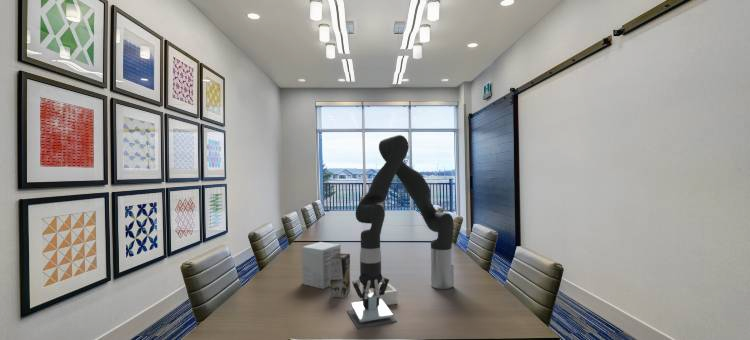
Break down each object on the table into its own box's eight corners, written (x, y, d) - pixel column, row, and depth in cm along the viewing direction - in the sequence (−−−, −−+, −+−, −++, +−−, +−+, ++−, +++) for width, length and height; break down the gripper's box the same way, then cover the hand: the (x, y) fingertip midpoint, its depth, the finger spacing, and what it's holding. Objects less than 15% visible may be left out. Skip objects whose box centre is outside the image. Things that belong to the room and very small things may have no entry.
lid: (381, 300, 125) (381, 285, 125) (393, 316, 114) (393, 300, 113) (350, 304, 121) (351, 289, 121) (359, 322, 110) (360, 305, 109)
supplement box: (341, 281, 157) (341, 244, 157) (323, 289, 146) (323, 249, 146) (320, 276, 164) (320, 241, 164) (301, 284, 153) (301, 246, 153)
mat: (382, 306, 127) (382, 305, 127) (396, 321, 113) (396, 320, 113) (347, 311, 122) (347, 310, 122) (357, 328, 109) (357, 327, 109)
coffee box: (344, 298, 135) (344, 258, 136) (329, 296, 137) (329, 258, 137) (350, 290, 144) (350, 253, 145) (336, 289, 146) (336, 252, 146)
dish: (387, 293, 140) (387, 282, 140) (397, 303, 129) (397, 290, 129) (362, 297, 136) (362, 285, 136) (370, 307, 126) (370, 294, 126)
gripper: (385, 255, 124) (385, 301, 124) (348, 258, 119) (349, 306, 119) (392, 260, 117) (393, 309, 116) (354, 264, 112) (355, 315, 112)
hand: (371, 307), depth 118 cm, fingers open, 3 cm apart
